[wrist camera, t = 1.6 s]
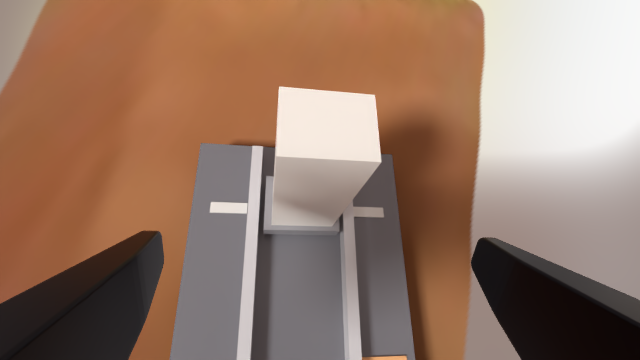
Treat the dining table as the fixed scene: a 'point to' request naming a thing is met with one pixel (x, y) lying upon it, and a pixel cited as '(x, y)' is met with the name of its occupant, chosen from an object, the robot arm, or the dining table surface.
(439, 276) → the dining table surface
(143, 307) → the robot arm
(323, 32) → the dining table surface
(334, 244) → the grey slider track base
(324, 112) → the fader
